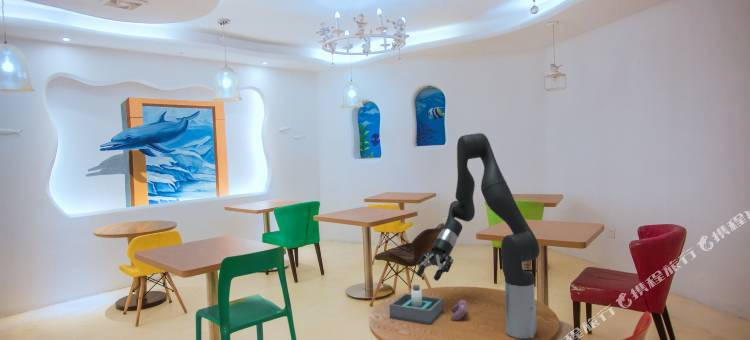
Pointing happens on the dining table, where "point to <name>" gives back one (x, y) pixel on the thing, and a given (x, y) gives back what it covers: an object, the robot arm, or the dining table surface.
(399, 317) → the walled box
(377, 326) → the dining table surface
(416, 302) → the plug
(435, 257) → the robot arm
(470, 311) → the dining table surface
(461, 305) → the video game controller
